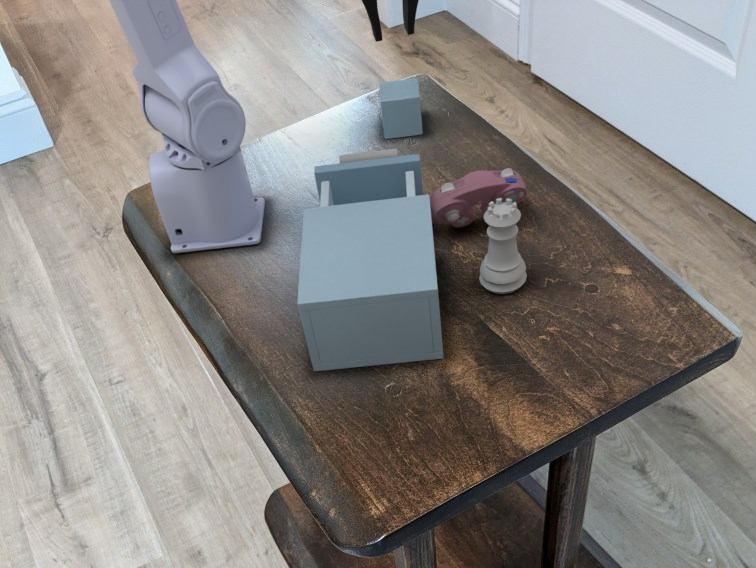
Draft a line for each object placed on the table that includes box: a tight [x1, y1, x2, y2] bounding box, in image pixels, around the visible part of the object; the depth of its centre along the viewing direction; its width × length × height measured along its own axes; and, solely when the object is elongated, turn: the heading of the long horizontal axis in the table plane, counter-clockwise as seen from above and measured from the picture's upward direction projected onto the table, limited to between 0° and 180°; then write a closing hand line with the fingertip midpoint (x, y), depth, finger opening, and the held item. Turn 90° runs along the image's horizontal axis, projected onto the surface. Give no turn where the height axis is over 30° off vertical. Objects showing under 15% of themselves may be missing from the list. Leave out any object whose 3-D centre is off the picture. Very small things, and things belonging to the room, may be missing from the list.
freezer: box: [296, 193, 444, 372], centre depth 77 cm, size 14×12×8 cm
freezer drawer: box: [313, 148, 424, 207], centre depth 84 cm, size 17×10×6 cm, turn 1°
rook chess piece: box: [478, 198, 528, 295], centre depth 78 cm, size 4×4×8 cm
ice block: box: [379, 77, 424, 140], centre depth 99 cm, size 4×4×4 cm
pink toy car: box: [429, 167, 528, 228], centre depth 85 cm, size 10×5×7 cm, turn 104°
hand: (393, 34), depth 92 cm, fingers open, 3 cm apart
